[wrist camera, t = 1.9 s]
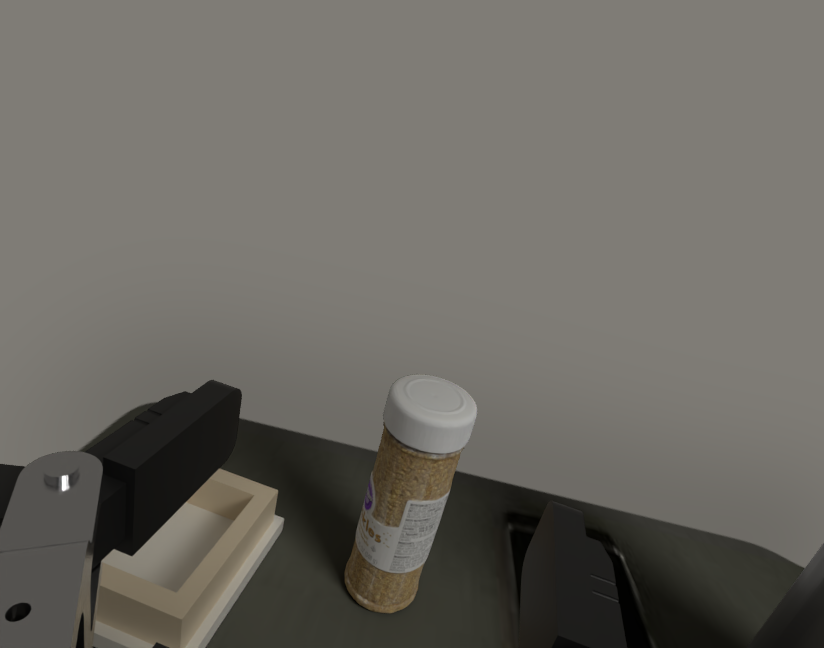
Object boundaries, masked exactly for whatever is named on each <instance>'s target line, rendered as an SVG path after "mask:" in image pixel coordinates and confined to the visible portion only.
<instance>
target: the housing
mask: <svg viewBox="0 0 824 648" xmlns="http://www.w3.org/2000/svg"><path fill="white" fill-rule="evenodd" d="M277 495H278V490H276V489H273V488H271V487H268V486H265V485H263V484H260V483H257V482H254V481H252V480H249V479H246V478H244V477H241V476H238V475H235V474H233V473H230V472H227V471H225V470H222V469H218V470H217V471H216V472H215V473H214V474H213V475H212V476H211V477H210V478H209V479H208V480H207V481H206V482H205V483H204V484H203V485H202V486H201V487H200V488H199V489H198V490H197V491H196V492H195V493H194V495H193V496H192V497H191V498H190V499H189V500H188V501H187V502H186V503H185V504H184V505H183V506H182V507H181V508H180V509H179V510H178V511H177V512H176V513H175V514H174V515H173V516H172V517H171V518H170V519H169V520H168V521H167V522H166V523H165V524H164V525H163V526H162V527H161V528H160V529H159V530H158V531H157V532H156V533H155V534H154V535H153V536H152V537H151V538H150V539H149V540H148V541H147V542H146V543H145V544H144V545H143V546H142V547H141V548H140V549H139V550H138V551H137V552H136V553H135V554H134V555H133V556H129V555H127V554H125V553H122V552H120V551H117V550H115V549H113V550H112V551H111V552H110V553H109V554H108V555H107V556H106V557H105V558H104V559H103V560H102V574H101V582H100V590H99V598H98V606H97V614H96V622H95V630H94V638H93V646H94V647H96V648H152V647H153V646H154V645H155V643H156V642H158V643H160V644H162V645H165V646H167V647H169V648H205V647H206V646H207V644H208V643H209V641H210V639H211V638H212V636H213V635H214V633H215V632H216V630H217V629H218V627H219V626H220V624H221V623H222V621H223V620H224V618H225V617H226V615H227V614H228V612H229V611H230V609H231V608H232V606H233V605H234V603H235V601H236V600H237V598H238V597H239V595H240V594H241V592H242V591H243V589H244V588H245V586H246V585H247V583H248V582H249V580H250V579H251V577H252V576H253V574H254V573H255V571H256V570H257V568H258V567H259V565H260V563H261V562H262V560H263V559H264V557H265V556H266V554H267V553H268V551H269V550H270V548H271V547H272V545H273V544H274V542H275V541H276V539H277V538H278V536H279V535H280V533H281V532H282V529H283V524H284V518H282V517H279V516H276V515H274V514H275V507H276V501H277Z"/></svg>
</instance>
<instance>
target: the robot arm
mask: <svg viewBox="0 0 824 648" xmlns="http://www.w3.org/2000/svg"><path fill="white" fill-rule="evenodd" d="M241 397H242V394H241V391H240V389H237V388H234V387H231V386H229V385H226V384H223V383H220V382H217V381H214V380H210V381H208V382H207V383H205V384H204V385H203V386H201V387H200V388H198V389H197V390H196V391H194V392H193V393H188V392H182V393H179V394H175V395H172V396H169V397H166V398H164V399H162V400H161V401H159V402H158V403H156V404H155V405H153V406H152V407H150V408H149V409H148V411H147V412H146V411H144V412H143V413H142V414H140V415H139V416H137V417H136V418H135V420H134V421H133V420H131V421H130V422H128V423H127V424H125V425H124V426H122V427H121V428H119V429H118V430H117V431H115V432H114V433H112V434H111V435H109V436H108V437H106V438H105V439H103V440H102V441H100V442H99V443H97V444H96V445H94V446H93V447H91V448H90V449H89V450H87V451H86V452H79V451H65V452H57V453H52V454H49V455H46V456H43V457H41V458H38V459H37V460H35V461H33V462H32V463H30V464H28V465H27V466H26V467H24V466H14V465H5V464H0V648H92V646H93V638H94V630H95V622H96V614H97V606H98V598H99V590H100V582H101V574H102V560H103V559H104V558H105V557H106V556H107V555H108V554H109V553H110V552H111V551H112V550H113V549H115V550H117V551H120V552H122V553H125V554H127V555H129V556H133V555H134V554H135V553H136V552H137V551H138V550H139V549H140V548H141V547H142V546H143V545H144V544H145V543H146V542H147V541H148V540H149V539H150V538H151V537H152V536H153V535H154V534H155V533H156V532H157V531H158V530H159V529H160V528H161V527H162V526H163V525H164V524H165V523H166V522H167V521H168V520H169V519H170V518H171V517H172V516H173V515H174V514H175V513H176V512H177V511H178V510H179V509H180V508H181V507H182V506H183V505H184V504H185V503H186V502H187V501H188V500H189V499H190V498H191V497H192V496H193V495H194V493H195V492H196V491H197V490H198V489H199V488H200V487H201V486H202V485H203V484H204V483H205V482H206V481H207V480H208V479H209V478H210V477H211V476H212V475H213V474H214V473H215V472H216V471H217V470H218V469H219V468H220V467H221V466H222V465H223V464H224V463H225V462H226V461H227V459H228V458H229V456H230V454H231V453H232V451H233V448H234V446H235V442H236V438H237V430H238V422H239V414H240V406H241V399H242V398H241ZM615 584H616V580H615V574H614V568H613V563H612V561H611V559H610V557H609V556H608V554H607V552H606V550H605V549H604V547H603V545H602V544H601V542H600V541H597V540H594V539H592V538H589V537H586V531H585V522H584V515H583V512H582V511H580V510H577V509H574V508H571V507H568V506H566V505H563V504H560V503H557V502H554V501H549V502H548V504H547V506H546V508H545V510H544V512H543V515H542V517H541V519H540V522H539V524H538V526H537V528H536V531H535V533H534V535H533V538H532V540H531V542H530V544H529V547H528V549H527V552H526V555H525V559H524V563H523V569H522V579H521V603H520V626H519V648H627V644H626V638H625V632H624V627H623V621H622V615H621V609H620V604H619V603H618V600H619V598H618V592H617V587H616V586H615ZM152 648H169V647H167V646H165V645H162V644H160V643H158V642H156V643H155V645H154V646H153V647H152ZM747 648H824V543H823V545H822V546H821V547H820V549H819V550H818V551H817V553H816V554H815V556H814V557H813V558H812V560H811V561H810V563H809V564H808V565H807V566H806V568H805V569H804V570H803V572H802V573H801V574H800V576H799V577H798V579H797V580H796V581H795V583H794V584H793V585H792V587H791V588H790V589H789V591H788V592H787V593H786V595H785V596H784V598H783V599H782V600H781V602H780V603H779V604H778V606H777V607H776V608H775V610H774V611H773V613H772V614H771V615H770V617H769V618H768V619H767V621H766V622H765V623H764V625H763V626H762V627H761V629H760V630H759V632H758V633H757V634H756V636H755V637H754V638H753V639H752V641H751V642H750V644H749V645H748V646H747Z"/></svg>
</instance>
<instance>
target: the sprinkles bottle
mask: <svg viewBox="0 0 824 648" xmlns="http://www.w3.org/2000/svg"><path fill="white" fill-rule="evenodd" d="M476 416H477V406H476V403H475V401H474V400H473V398H472V397H471V396H470V395H469V393H468V392H466V391H465V390H464V389H462V388H461V387H460V386H458V385H456V384H455V383H453V382H451V381H448V380H446V379H443V378H440V377H436V376H431V375H422V374H414V375H408V376H404V377H401V378H399V379H398V380H396V381H395V382H394V383H393V385H392V386H391V389H390V391H389V395H388V398H387V401H386V405H385V410H384V414H383V419H384V431H383V434H382V439H381V443H380V446H379V450H378V454H377V458H376V462H375V466H374V470H373V471H372V473H371V477H370V481H369V485H368V489H367V493H366V496H365V500H364V504H363V508H362V512H361V515H360V519H359V522H358V526H357V530H356V538H355V542H354V546H353V549H352V553H351V557H350V558H349V560H348V562H347V565H346V569H345V584H346V586H347V590H348V591H349V593H350V595H351V596H352V597H353V599H355V600H356V602H357V603H358V604H359V605H361V606H363V607H365V608H366V609H368V610H371V611H374V612H379V613H393V612H396V611H399V610H402V609H404V608H405V607H407V606H408V605H409V604H410V603H411V602H412V601H413V600H414V597H415V595H416V592H417V590H418V582H419V581H418V580H419V577H420V574H421V571H422V568H423V565H424V562H425V560H426V559H427V557H428V554H429V551H430V548H431V545H432V543H433V540H434V537H435V534H436V531H437V528H438V525H439V522H440V519H441V516H442V513H443V510H444V507H445V504H446V501H447V498H448V495H449V492H450V489H451V484H452V479H453V476H454V473H455V470H456V467H457V464H458V460H459V458H460V453H461V452H462V450H463V449H464V446H465V445H466V444H467V442H468V441H469V438H470V435H471V433H472V430H473V426H474V423H475V419H476Z"/></svg>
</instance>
